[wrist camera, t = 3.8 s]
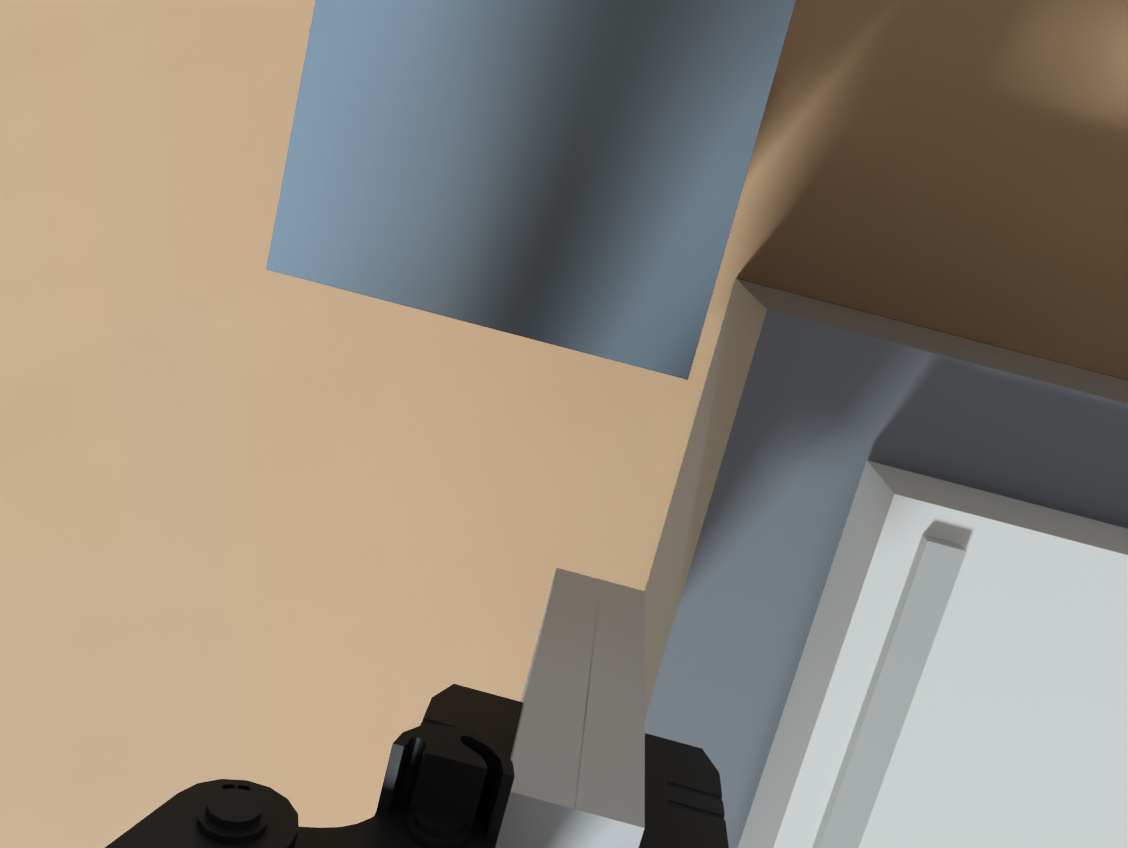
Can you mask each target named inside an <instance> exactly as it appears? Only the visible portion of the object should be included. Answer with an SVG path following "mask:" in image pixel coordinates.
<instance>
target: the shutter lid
mask: <svg viewBox="0 0 1128 848" xmlns="http://www.w3.org/2000/svg"><path fill="white" fill-rule="evenodd" d="M738 848H1128V529H1127V528H1124V527H1120V526H1116V525H1112V524H1108V523H1104V522H1101V521H1097V520H1093V519H1089V518H1085V517H1082V516H1078V515H1074V514H1070V513H1066V512H1062V511H1059V510H1055V509H1051V508H1047V507H1043V506H1040V505H1036V504H1032V503H1028V502H1024V501H1021V500H1017V499H1013V498H1009V497H1005V496H1001V495H998V494H994V493H990V492H986V491H982V490H979V489H975V488H971V487H967V486H963V485H959V484H956V483H952V482H948V481H944V480H940V479H937V478H933V477H929V476H925V475H921V474H918V473H914V472H910V471H906V470H902V469H898V468H895V467H891V466H887V465H883V464H879V463H876V462H872V461H868V460H867V461H866V464H865V467H864V470H863V473H862V476H861V479H860V482H859V485H858V488H857V491H856V494H855V497H854V500H853V503H852V506H851V509H850V512H849V515H848V518H847V521H846V524H845V527H844V530H843V533H842V536H841V539H840V542H839V545H838V548H837V551H836V554H835V557H834V560H833V563H832V566H831V569H830V572H829V575H828V578H827V581H826V584H825V587H824V590H823V593H822V596H821V599H820V602H819V605H818V608H817V611H816V614H815V617H814V620H813V623H812V626H811V629H810V632H809V635H808V638H807V641H806V644H805V647H804V650H803V653H802V656H801V659H800V662H799V665H798V668H797V671H796V674H795V677H794V680H793V683H792V686H791V689H790V692H789V695H788V698H787V701H786V704H785V707H784V710H783V713H782V716H781V719H780V722H779V725H778V728H777V731H776V734H775V737H774V740H773V743H772V746H771V749H770V752H769V755H768V758H767V761H766V764H765V767H764V770H763V773H762V776H761V779H760V782H759V785H758V788H757V791H756V794H755V797H754V800H753V803H752V806H751V809H750V812H749V815H748V818H747V821H746V824H745V827H744V830H743V833H742V836H741V839H740V842H739V845H738Z"/></svg>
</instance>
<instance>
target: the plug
mask: <svg viewBox="0 0 1128 848" xmlns="http://www.w3.org/2000/svg"><path fill="white" fill-rule="evenodd" d="M795 2H796V0H316V1H315V7H314V12H313V18H312V23H311V29H310V34H309V40H308V45H307V51H306V56H305V61H304V67H303V72H302V78H301V83H300V89H299V94H298V100H297V105H296V110H295V116H294V121H293V127H292V132H291V138H290V143H289V149H288V154H287V160H286V165H285V170H284V176H283V181H282V187H281V192H280V198H279V203H278V209H277V214H276V219H275V225H274V230H273V236H272V241H271V247H270V252H269V258H268V263H267V270H271V271H274V272H278V273H282V274H286V275H290V276H294V277H297V278H301V279H305V280H309V281H313V282H316V283H320V284H324V285H328V286H332V287H336V288H339V289H343V290H347V291H351V292H355V293H358V294H362V295H366V296H370V297H374V298H378V299H381V300H385V301H389V302H393V303H397V304H400V305H404V306H408V307H412V308H416V309H420V310H423V311H427V312H431V313H435V314H439V315H442V316H446V317H450V318H454V319H458V320H462V321H465V322H469V323H473V324H477V325H481V326H484V327H488V328H492V329H496V330H500V331H504V332H507V333H511V334H515V335H519V336H523V337H527V338H530V339H534V340H538V341H542V342H546V343H549V344H553V345H557V346H561V347H565V348H569V349H572V350H576V351H580V352H584V353H588V354H591V355H595V356H599V357H603V358H607V359H611V360H614V361H618V362H622V363H626V364H630V365H633V366H637V367H641V368H645V369H649V370H653V371H656V372H660V373H664V374H668V375H672V376H675V377H679V378H683V379H687V380H688V377H689V374H690V370H691V367H692V363H693V360H694V356H695V353H696V349H697V346H698V342H699V339H700V335H701V332H702V328H703V325H704V321H705V317H706V314H707V310H708V307H709V303H710V300H711V296H712V293H713V289H714V286H715V282H716V279H717V275H718V272H719V268H720V265H721V261H722V258H723V254H724V251H725V247H726V244H727V240H728V237H729V233H730V230H731V226H732V223H733V219H734V216H735V212H736V209H737V205H738V202H739V198H740V195H741V191H742V188H743V184H744V181H745V177H746V174H747V170H748V167H749V163H750V160H751V156H752V153H753V149H754V146H755V142H756V139H757V135H758V132H759V128H760V125H761V121H762V118H763V114H764V111H765V107H766V104H767V100H768V97H769V93H770V90H771V86H772V83H773V79H774V76H775V72H776V69H777V65H778V62H779V58H780V55H781V51H782V48H783V44H784V41H785V37H786V34H787V30H788V27H789V23H790V20H791V16H792V13H793V9H794V6H795Z"/></svg>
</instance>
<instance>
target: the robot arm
mask: <svg viewBox="0 0 1128 848" xmlns="http://www.w3.org/2000/svg"><path fill="white" fill-rule="evenodd" d="M724 816H725V813H724V805H723V801H722V790H721V782H720V774H719V772H718V770H717V769H716V767H715V766H714V765H713V763H712V762H711V760H710V759H709V757H708V756H707V755H706V753H705V752H704V750H703V749H702V748H698V747H695V746H691V745H687V744H684V743H680V742H676V741H673V740H669V739H665V738H662V737H658V736H654V735H651V734H647V733H645V592H644V591H641V590H637V589H633V588H630V587H626V586H622V585H618V584H615V583H611V582H607V581H604V580H600V579H596V578H592V577H589V576H585V575H581V574H578V573H574V572H570V571H566V570H563V569H559V568H556V572H555V576H554V580H553V583H552V587H551V591H550V594H549V598H548V602H547V605H546V609H545V613H544V617H543V620H542V624H541V628H540V631H539V635H538V639H537V642H536V646H535V650H534V654H533V657H532V661H531V665H530V668H529V672H528V676H527V680H526V683H525V687H524V691H523V694H522V698H521V702H519V701H515V700H511V699H508V698H504V697H500V696H496V695H493V694H489V693H485V692H482V691H478V690H474V689H471V688H467V687H463V686H460V685H456V684H453V685H451V686H450V687H448V688H447V689H445V690H443V691H442V692H440V693H439V694H437V695H435V696H434V697H432V699H431V701H430V704H429V706H428V709H427V711H426V713H425V716H424V718H423V722H422V723H421V725H420V726H419V727H416V728H414V729H411V730H408V731H406V732H403V733H402V734H401V735H400V736H399V737H398V738H397V740H396V741H395V742H394V743H393V745H392V749H391V753H390V757H389V762H388V766H387V770H386V774H385V778H384V782H383V787H382V791H381V795H380V799H379V803H378V807H377V811H376V814H375V816H374V817H372V818H370V819H368V820H365V821H363V822H361V823H358V824H354V825H349V826H345V827H337V828H310V827H298V814H297V812H296V811H295V809H294V808H293V806H292V805H291V803H290V802H289V800H288V799H287V798H285V797H284V796H282V795H280V794H279V793H277V792H276V791H274V790H273V789H271V788H270V787H266V786H263V785H260V784H256V783H253V782H250V781H244V780H227V779H220V780H214V781H209V782H203V783H198V784H196V785H194V786H192V787H190V788H188V789H186V790H184V791H182V792H180V793H178V794H176V795H175V796H174V797H172V798H171V799H170V800H168V801H167V802H166V803H164V804H163V805H162V806H160V807H159V808H158V809H156V810H155V811H154V812H152V813H151V814H150V815H148V816H147V817H146V818H144V819H143V820H141V821H140V822H139V823H137V824H136V825H135V826H133V827H132V828H131V829H129V830H128V831H127V832H125V833H124V834H123V835H121V836H120V837H119V838H117V839H116V840H115V841H113V842H112V843H111V844H109V845H108V846H107V847H105V848H729V845H728V837H727V829H726V821H725V820H724Z"/></svg>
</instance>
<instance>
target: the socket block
mask: <svg viewBox="0 0 1128 848" xmlns="http://www.w3.org/2000/svg"><path fill="white" fill-rule="evenodd" d="M867 460H868V461H872V462H876V463H879V464H883V465H887V466H891V467H895V468H898V469H902V470H906V471H910V472H914V473H918V474H921V475H925V476H929V477H933V478H937V479H940V480H944V481H948V482H952V483H956V484H959V485H963V486H967V487H971V488H975V489H979V490H982V491H986V492H990V493H994V494H998V495H1001V496H1005V497H1009V498H1013V499H1017V500H1021V501H1024V502H1028V503H1032V504H1036V505H1040V506H1043V507H1047V508H1051V509H1055V510H1059V511H1062V512H1066V513H1070V514H1074V515H1078V516H1082V517H1085V518H1089V519H1093V520H1097V521H1101V522H1104V523H1108V524H1112V525H1116V526H1120V527H1124V528H1127V529H1128V381H1127V380H1123V379H1120V378H1116V377H1112V376H1108V375H1104V374H1100V373H1096V372H1093V371H1089V370H1085V369H1081V368H1077V367H1073V366H1070V365H1066V364H1062V363H1058V362H1054V361H1050V360H1047V359H1043V358H1039V357H1035V356H1031V355H1027V354H1024V353H1020V352H1016V351H1012V350H1008V349H1004V348H1000V347H997V346H993V345H989V344H985V343H981V342H977V341H974V340H970V339H966V338H962V337H958V336H954V335H951V334H947V333H943V332H939V331H935V330H931V329H928V328H924V327H920V326H916V325H912V324H908V323H904V322H901V321H897V320H893V319H889V318H885V317H881V316H878V315H874V314H870V313H866V312H862V311H858V310H855V309H851V308H847V307H843V306H839V305H835V304H832V303H828V302H824V301H820V300H816V299H812V298H808V297H805V296H801V295H797V294H793V293H789V292H785V291H782V290H778V289H774V288H770V287H766V286H762V285H759V284H755V283H751V282H747V281H743V280H739V279H735V282H734V286H733V289H732V293H731V296H730V300H729V303H728V307H727V310H726V313H725V317H724V320H723V324H722V327H721V331H720V334H719V338H718V341H717V344H716V348H715V351H714V355H713V358H712V362H711V365H710V369H709V372H708V376H707V379H706V382H705V386H704V389H703V393H702V396H701V400H700V403H699V407H698V410H697V414H696V417H695V420H694V424H693V427H692V431H691V434H690V438H689V441H688V445H687V448H686V451H685V455H684V458H683V462H682V465H681V469H680V472H679V476H678V479H677V483H676V486H675V489H674V493H673V496H672V500H671V503H670V507H669V510H668V514H667V517H666V520H665V524H664V527H663V531H662V534H661V538H660V541H659V545H658V548H657V552H656V555H655V558H654V562H653V565H652V569H651V572H650V576H649V579H648V583H647V586H646V590H645V733H647V734H651V735H654V736H658V737H662V738H665V739H669V740H673V741H676V742H680V743H684V744H687V745H691V746H695V747H698V748H702V749H703V750H704V752H705V753H706V755H707V756H708V757H709V759H710V760H711V762H712V763H713V765H714V766H715V767H716V769H717V770H718V772H719V774H720V782H721V790H722V801H723V805H724V813H725V816H724V820H725V821H726V829H727V837H728V845H729V848H738V845H739V842H740V839H741V836H742V833H743V830H744V827H745V824H746V821H747V818H748V815H749V812H750V809H751V806H752V803H753V800H754V797H755V794H756V791H757V788H758V785H759V782H760V779H761V776H762V773H763V770H764V767H765V764H766V761H767V758H768V755H769V752H770V749H771V746H772V743H773V740H774V737H775V734H776V731H777V728H778V725H779V722H780V719H781V716H782V713H783V710H784V707H785V704H786V701H787V698H788V695H789V692H790V689H791V686H792V683H793V680H794V677H795V674H796V671H797V668H798V665H799V662H800V659H801V656H802V653H803V650H804V647H805V644H806V641H807V638H808V635H809V632H810V629H811V626H812V623H813V620H814V617H815V614H816V611H817V608H818V605H819V602H820V599H821V596H822V593H823V590H824V587H825V584H826V581H827V578H828V575H829V572H830V569H831V566H832V563H833V560H834V557H835V554H836V551H837V548H838V545H839V542H840V539H841V536H842V533H843V530H844V527H845V524H846V521H847V518H848V515H849V512H850V509H851V506H852V503H853V500H854V497H855V494H856V491H857V488H858V485H859V482H860V479H861V476H862V473H863V470H864V467H865V464H866V461H867Z"/></svg>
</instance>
